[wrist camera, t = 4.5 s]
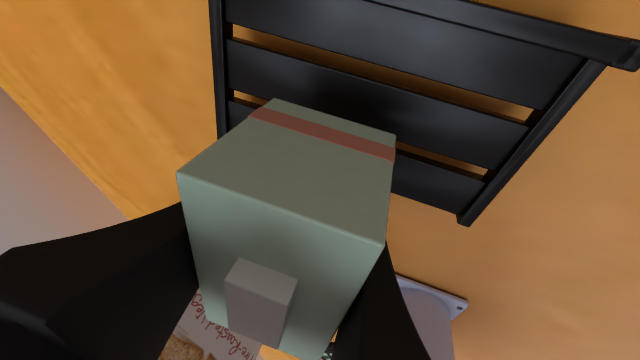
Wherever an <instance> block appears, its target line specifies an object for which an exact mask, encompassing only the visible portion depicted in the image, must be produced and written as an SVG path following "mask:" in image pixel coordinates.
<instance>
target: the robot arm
mask: <svg viewBox="0 0 640 360" xmlns="http://www.w3.org/2000/svg"><path fill="white" fill-rule="evenodd" d="M198 289H199V282H198V278H197V273H196V268H195V263H194V259H193V254H192V249H191V245H190V240H189V235H188V231H187V226H186V221H185V217H184V212H183V207H182V203H181V202H179V203H176V204H174V205H172V206H169V207H167V208H164V209H162V210H159V211H156V212H154V213H151V214H148V215H145V216H142V217H139V218H136V219H133V220H130V221H127V222H123V223H120V224H117V225H113V226H110V227H106V228H103V229H99V230H95V231H91V232H87V233H83V234H79V235H75V236H70V237H65V238H61V239H56V240H51V241H46V242H41V243H36V244H30V245H25V246H20V247H14V248H11V249H10V250H8V251H6V252H5V253H3V254H2V255H0V360H158V358H159V357H160V355H161V353H162V351H163V349H164V347H165V345H166V343H167V342H168V340H169V338H170V336H171V335H172V333H173V331H174V329H175V327H176V326H177V324H178V322H179V320H180V319H181V317H182V315H183V314H184V312H185V310H186V308H187V307H188V305H189V303H190V302H191V300H192V298H193V297H194V295H195V293H196V292H197V290H198ZM467 307H468V302H467V301H466V300H464V299H461V298H459V297H456V296H453V295H450V294H448V293H445V292H442V291H440V290H437V289H434V288H431V287H429V286H426V285H423V284H421V283H418V282H415V281H412V280H410V279H407V278H404V277H402V276H399V275H396V274H395V272H394V269H393V265H392V261H391V258H390V254H389V250H388V246H387V241H385V247H384V249H383V250H382V252H381V254H380V256H379V257H378V259H377V261H376V263H375V264H374V266H373V268H372V270H371V271H370V273H369V275H368V277H367V278H366V280H365V282H364V284H363V285H362V287H361V289H360V291H359V292H358V294H357V296H356V298H355V299H354V301H353V303H352V305H351V307H350V308H349V310H348V312H347V314H346V315H345V317H344V319H343V321H342V322H341V324H340V326H339V328H338V331H337V335H336V339H335V344H334V348H333V352H332V356H331V360H455V356H454V348H453V340H452V332H451V324H450V321H452V320H453V319H454V318H455V317H457V316H458V315H459V314H460V313H461V312H463V311H464V310H465V309H466V308H467Z"/></svg>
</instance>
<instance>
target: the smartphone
mask: <svg viewBox="0 0 640 360" xmlns="http://www.w3.org/2000/svg"><path fill="white" fill-rule="evenodd" d="M333 348H334V345H328V347H327V349H326V350H325V352H324V354H323V356H322V357H321V358H322V359H323V360H331V356H332V352H333Z"/></svg>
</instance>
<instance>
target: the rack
mask: <svg viewBox="0 0 640 360" xmlns="http://www.w3.org/2000/svg"><path fill="white" fill-rule="evenodd" d="M208 3H209V19H210V34H211V49H212V64H213V79H214V94H215V109H216V124H217V139H218V140H219V139H220V138H221V137H223V136H224V135H225V134H227V133H228V132H229V131H231V130H232V129H233V128H235V127H236V126H237V125H239V124H240V123H241V122H243V121H244V120H245V119H247V118H248V115H250V114H251V113H252V112H254V111H255V110H256V109H258V108H259V107H262V105H259V104H256V103H252V102H249V101H246V100H243V99H240V98H237V97H234V90H236V91H240V92H243V93H246V94H249V95H252V96H256V97H259V98H262V99H265V100H268V101H270V100H272V99H273V98H276V99H280V100H283V101H286V102H289V103H293V104H296V105H299V106H303V107H306V108H309V109H312V110H316V111H319V112H322V113H326V114H329V115H332V116H335V117H339V118H342V119H345V120H349V121H352V122H355V123H358V124H362V125H365V126H368V127H372V128H375V129H378V130H381V131H385V132H388V133H391V134H394V135H396V141H399V142H403V143H406V144H409V145H412V146H415V147H419V148H422V149H425V150H428V151H431V152H435V153H438V154H441V155H444V156H447V157H451V158H454V159H457V160H460V161H463V162H467V163H470V164H473V165H476V166H479V167H482V168H486V169H488V171H487V172H486V173H485V174H484V176H483V175H480V174H477V173H474V172H471V171H467V170H464V169H461V168H458V167H455V166H452V165H448V164H445V163H442V162H439V161H436V160H433V159H430V158H426V157H423V156H420V155H417V154H414V153H411V152H407V151H404V150H401V149H398V148H395V149H396V151H395V161H394V165H393V171H392V181H391V191H390V192H391V193H394V194H397V195H400V196H403V197H406V198H409V199H412V200H415V201H418V202H421V203H424V204H427V205H430V206H433V207H436V208H439V209H442V210H445V211H448V212H451V213H453V214H456V218H457V223H458V224H460V225H463V226H466V227H470V226H471V225H472V223H473V222H474V221H475V220H476V219H477V218H478V216H479V215H480V214H481V213H482V212H483V211H484V209H485V208H486V207H487V206H488V205H489V204H490V202H491V201H492V200H493V199H494V198H495V196H496V195H497V194H498V193H499V192H500V191H501V189H502V188H503V187H504V186H505V185H506V184H507V182H508V181H509V180H510V179H511V178H512V177H513V175H514V174H515V173H516V172H517V171H518V170H519V168H520V167H521V166H522V165H523V164H524V163H525V161H526V160H527V159H528V158H529V157H530V156H531V154H532V153H533V152H534V151H535V150H536V149H537V147H538V146H539V145H540V144H541V143H542V142H543V140H544V139H545V138H546V137H547V136H548V134H549V133H550V132H551V131H552V130H553V129H554V127H555V126H556V125H557V124H558V123H559V122H560V120H561V119H562V118H563V117H564V116H565V115H566V113H567V112H568V111H569V110H570V109H571V108H572V106H573V105H574V104H575V103H576V102H577V101H578V99H579V98H580V97H581V96H582V95H583V94H584V92H585V91H586V90H587V89H588V88H589V87H590V85H591V84H592V83H593V82H594V81H595V80H596V78H597V77H598V76H599V75H600V74H601V73H602V71H603V70H604V69H605V68H606V67H607V66H610V67H614V68H618V69H621V70H625V71H629V72H636V71H637V70H638V69H639V68H640V40H638V39H633V38H628V37H623V36H617V35H612V34H607V33H601V32H596V31H592V30H588V29H584V28H580V27H576V26H572V25H568V24H564V23H560V22H556V21H552V20H548V19H544V18H539V17H535V16H531V15H527V14H523V13H519V12H515V11H511V10H507V9H503V8H499V7H495V6H491V5H487V4H483V3H479V2H475V1H471V0H208ZM233 24H236V25H239V26H243V27H246V28H250V29H253V30H257V31H260V32H264V33H267V34H271V35H275V36H278V37H282V38H285V39H289V40H292V41H296V42H299V43H303V44H306V45H310V46H313V47H317V48H320V49H324V50H327V51H331V52H334V53H338V54H341V55H345V56H349V57H352V58H356V59H359V60H363V61H366V62H370V63H373V64H377V65H380V66H384V67H387V68H391V69H394V70H398V71H401V72H405V73H408V74H412V75H416V76H419V77H423V78H426V79H430V80H433V81H437V82H440V83H444V84H447V85H451V86H454V87H458V88H461V89H465V90H468V91H472V92H475V93H479V94H483V95H486V96H490V97H493V98H497V99H500V100H504V101H507V102H511V103H514V104H518V105H521V106H525V107H528V108H532V109H534V110H533V111H532V113H531V114H530V115H529V117H528V118H527V119H526V121H524V120H520V119H517V118H513V117H510V116H506V115H503V114H500V113H496V112H493V111H489V110H486V109H482V108H479V107H475V106H472V105H468V104H465V103H461V102H458V101H455V100H451V99H448V98H444V97H441V96H437V95H434V94H430V93H427V92H423V91H420V90H417V89H413V88H410V87H406V86H403V85H399V84H396V83H392V82H389V81H385V80H382V79H379V78H375V77H372V76H368V75H365V74H361V73H358V72H354V71H351V70H347V69H344V68H341V67H337V66H334V65H330V64H327V63H323V62H320V61H316V60H313V59H309V58H306V57H302V56H299V55H296V54H292V53H289V52H285V51H282V50H278V49H275V48H271V47H268V46H264V45H261V44H258V43H254V42H251V41H247V40H244V39H240V38H237V37H233Z"/></svg>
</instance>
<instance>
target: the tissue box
mask: <svg viewBox="0 0 640 360" xmlns="http://www.w3.org/2000/svg"><path fill="white" fill-rule="evenodd" d="M395 141H396V135H394V134H391V133H388V132H385V131H381V130H378V129H375V128H372V127H368V126H365V125H362V124H358V123H355V122H352V121H349V120H345V119H342V118H339V117H335V116H332V115H329V114H326V113H322V112H319V111H316V110H312V109H309V108H306V107H303V106H299V105H296V104H293V103H289V102H286V101H283V100H280V99H276V98H273V99H272V100H270V101H269V102H268V103H266V104H265V105H264V106H262V107H259V108H258V109H256V110H255V111H254V112H252V113H251V114H250V115H248V118H247V119H245V120H244V121H243V122H241V123H240V124H239V125H237V126H236V127H235V128H233V129H232V130H231V131H229V132H228V133H227V134H225V135H224V136H223V137H221V138H220V139H219V140H217V141H216V142H215V143H213V144H212V145H211V146H209V147H208V148H207V149H205V150H204V151H203V152H201V153H200V154H199V155H197V156H196V157H195V158H193V159H192V160H191V161H189V162H188V163H187V164H185V165H184V166H183V167H181V168H180V169H179V170H177V172H176V179H177V184H178V189H179V193H180V198H181V203H182V207H183V212H184V217H185V221H186V226H187V231H188V235H189V240H190V245H191V249H192V254H193V259H194V263H195V268H196V273H197V278H198V282H199V287H200V292H201V296H202V301H203V306H204V310H205V315H206V319H207V320H209V321H211V322H213V323H216V324H218V325H221V326H223V327H225V328H228V329H229V330H231V331H233V332H236V333H238V334H240V335H243V336H245V337H248V338H250V339H252V340H255V341H257V342H260V343H262V344H264V345H267V346H269V347H272V348H274V349H278V350H281V351H283V352H286V353H288V354H290V355H293V356H295V357H298V358H300V359H302V360H320V359H321V357H322V356H323V354H324V352H325V350H326V349H327V347H328V345H329V343H330V342H331V340H332V338H333V336H334V335H335V333H336V331H337V329H338V328H339V326H340V324H341V322H342V321H343V319H344V317H345V315H346V314H347V312H348V310H349V308H350V307H351V305H352V303H353V301H354V299H355V298H356V296H357V294H358V292H359V291H360V289H361V287H362V285H363V284H364V282H365V280H366V278H367V277H368V275H369V273H370V271H371V270H372V268H373V266H374V264H375V263H376V261H377V259H378V257H379V256H380V254H381V252H382V250H383V249H384V247H385V241H386V231H387V221H388V211H389V201H390V191H391V181H392V171H393V165H394V161H395V151H396V149H395Z"/></svg>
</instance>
